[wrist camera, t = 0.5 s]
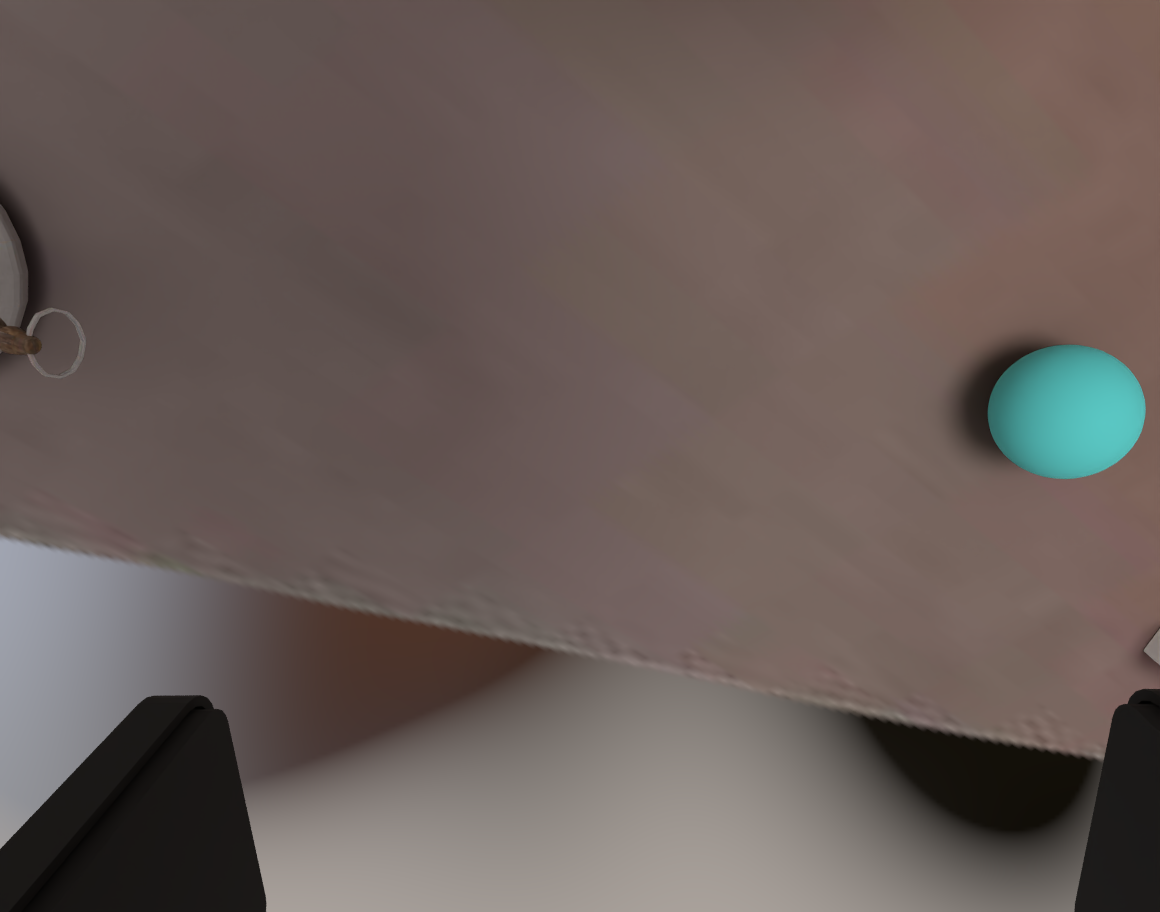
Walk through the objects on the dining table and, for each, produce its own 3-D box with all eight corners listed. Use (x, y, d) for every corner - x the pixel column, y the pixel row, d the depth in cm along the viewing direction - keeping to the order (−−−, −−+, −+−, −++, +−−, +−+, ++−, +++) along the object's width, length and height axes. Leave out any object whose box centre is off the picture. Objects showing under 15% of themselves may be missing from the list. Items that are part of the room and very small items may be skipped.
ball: (1008, 314, 37) (1078, 337, 31) (1120, 361, 37) (1210, 392, 31) (943, 428, 39) (998, 469, 33) (1050, 471, 39) (1123, 519, 33)
